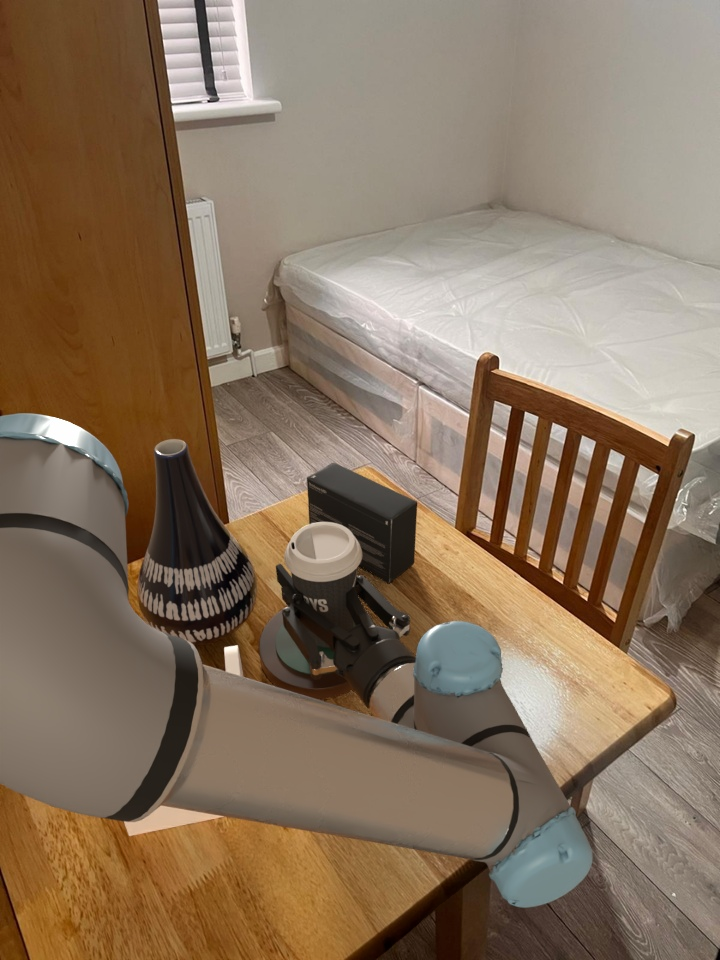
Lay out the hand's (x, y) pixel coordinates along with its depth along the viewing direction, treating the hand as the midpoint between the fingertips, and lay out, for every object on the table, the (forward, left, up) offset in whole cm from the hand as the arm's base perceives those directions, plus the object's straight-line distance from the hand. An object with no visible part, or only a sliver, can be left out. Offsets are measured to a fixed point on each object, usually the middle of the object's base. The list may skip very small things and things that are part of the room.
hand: (295, 565), depth 95 cm
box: (0, +18, -12) cm, 22 cm away
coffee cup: (+5, -1, -8) cm, 10 cm away
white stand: (+3, -27, -12) cm, 29 cm away
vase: (-12, -6, -12) cm, 18 cm away
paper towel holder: (+5, -3, -11) cm, 13 cm away
